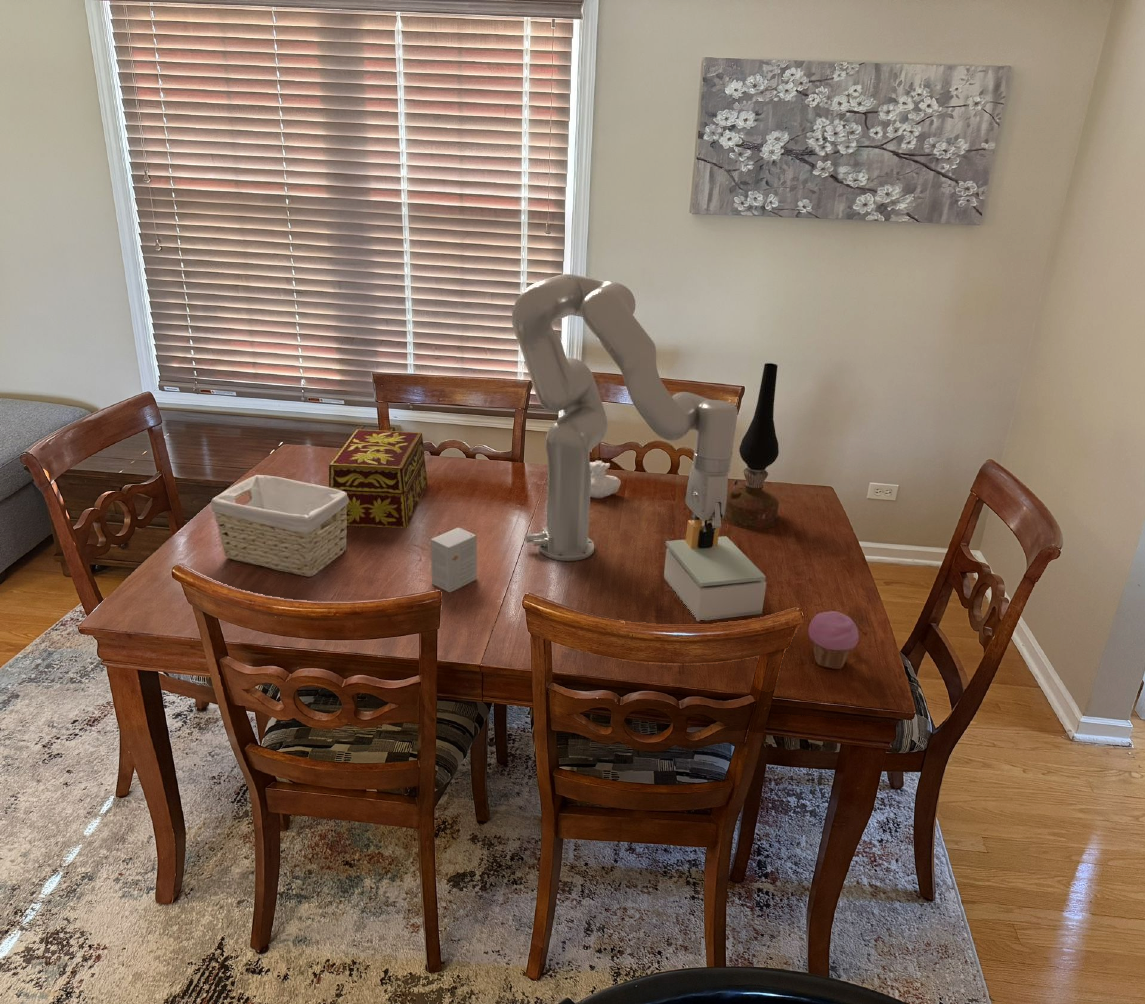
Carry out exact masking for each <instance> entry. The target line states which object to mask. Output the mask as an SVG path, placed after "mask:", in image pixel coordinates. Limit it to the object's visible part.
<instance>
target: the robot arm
mask: <svg viewBox="0 0 1145 1004" xmlns="http://www.w3.org/2000/svg"><path fill="white" fill-rule="evenodd" d="M636 307H637V305H636V299H635V296H634V294H633V292H632V291H631V289H629V288H628V287H627V286H625V285H624V284H622V283H619V282H615V281H610V280H604V279H598V278H594V277H588V276H583V275H578V274H573V273H572V274H569V273H564V274H559V275H555V276H553V277H548V278H545V279H542V280H538V281H537V282H534V283H532V284H530V285H529V286H528V287H526V288H525V289H524V290H523V291H522V292H521V293H520V294H519V295H518V297H517V299H516V301H515V302H514V305H513V308H512V312H511V314H512V315H511V324H512V328H513V332H514V336H515V338H516V340H517V342H518V343H517V344H518V345H519V349H520V350H521V353H522V356H523V360H524V363H525V366H526V368H527V372H528V374H529V378H530V381H531V384H532V387H533V389H534V393H535V397H536V398H537V401H538V403H539V404H540V406H541V407H542V408H543V409H544V410H546V411H548V412H551V413H554V412H555V413H557V412H560V411H563V412H564V414H563V415H562V416H560V417H559V418H557V420H555V421H554V422H553V423H552V424H551V426H550V427H549V428H548V430H547V432H546V436H545V452H546V461H547V492H546V493H547V497H546V501H547V502H546V526H544V527H542V531H538V533H525V535H524V541H525V543H527V544H528V543H532V546H533V547H536V546H537V547H538V549H539V552H540V553H541V554H543V555H544V556H546V557H547V558H550V559H554V560H557V561H565V562H573V561H580V560H584V559H587V558H588V557H590V556H591V555H592V554H594V552H595V543H594V542H593V540H592V539H591V538H589V525H590V510H591V509H590V508H591V507H590V506H591V497H590V493H591V474H592V473H591V467H590V462H591V461H590V452H591V451H592V450H593V449H594V448H595V447H596V446H598V445H599V444H600V443H601V442H602V441H603V440H604V438H605V437H606V435H607V432H608V426H609V425H608V424H609V423H608V418H607V415H606V410H605V407H604V404H603V401H602V398H601V395H600V391H599V388H598V385H597V383H596V379H595V377H594V375H593V372H592V371H591V369H590V368H589V367H588V365H587V364H586V363H585V362H583V361H582V360H580V359H578V358H574V357H573V358H572V357H569V358H567V355H566V353H565V350H564V345H563V344H562V341H561V339H560V337H559V335H558V334H557V332H556V331H555V329H554V327H553V324H554V323H555V322H557V321H558V320H560V319H564V318H566V317H568V316H575V317H580V318H582V320H583V322H584V323H585V325H586V326H587V328H588V329H589V330H590V332H592V334H593V335H594V336H595V338H596V339H597V341H599V344H600V345H601V346H602V347H603V348H604V350H605V351H606V352H607V354H608V355H609V356H610V358H611V359H612V361H613V362H614V363H615V364H616V366H617V368H619V370H620V372H621V375H622V378H623V382H624V385H625V388H626V390H627V392H628V395H629V398H630V399H631V402H632V404H633V406H634V408H635V409H636V410H637V412H638V414H640V416H641V417H642V418H643V420H644V421H645V422H646V424H647V425H648V427H649V429H651V430H652V431H653V433H655V434H656V435H657V436H658V437H660V438H661V439H663V440H666V441H672V442H673V441H678V440H680V439H683V437H685V436H686V435H688V434H689V432H690V431H696V435H695V443H694V450H693V459H692V465H691V468H690V472H689V477H688V480H687V487H686V488H687V489H686V491H685V492H686V494H685V505H686V506H687V508H689V510H691V512H692V516H691V520H700V519H701V520H702V530H700V531H699V538H698V547H699V548H710V547H712V546H713V539H714V532H715V531H716V528H720V529H721V528H722V520H723V519H724V518H723V517H724V514H725V509H726V501H727V493H728V486H729V485H728V483H729V479H728V478H729V475H728V474H729V473H730V471H731V466H732V465H731V464H732V457H733V451H734V444H735V437H736V430H737V429H736V428H737V422H738V412H739V411H738V408H737V406H736V405H735V404H734V403H732V402H730V401H726V400H721V399H709V398H707V397H704V396H700V395H698V394H696V393H692V392H689V391H680V392H677V393H675V394H673V395H671V394H670V392H669V391H668V389H667V388H666V386H665V384H664V383H663V381H662V379H661V377H660V375H659V372H658V368H657V347H656V344H655V342H654V340H653V339H652V337H650V335H649V334H648V333H647V331H646V330H645V329H644V328H643V326H642V325H641V324H640V322H639V321H638V319H636V317H635V316H634V313H635V310H636ZM707 521H712V523H708V524H707Z"/></svg>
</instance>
